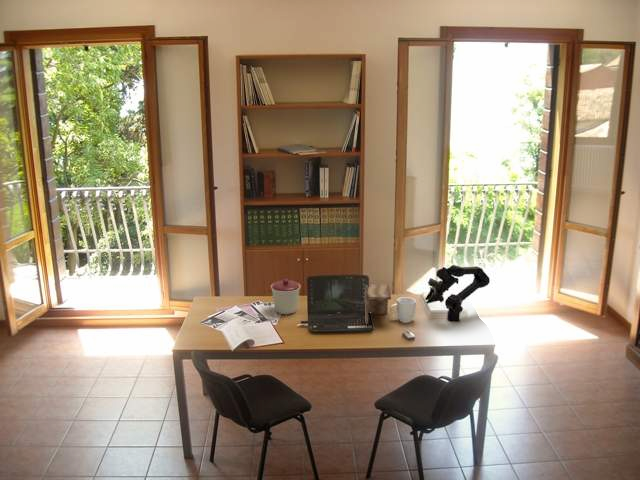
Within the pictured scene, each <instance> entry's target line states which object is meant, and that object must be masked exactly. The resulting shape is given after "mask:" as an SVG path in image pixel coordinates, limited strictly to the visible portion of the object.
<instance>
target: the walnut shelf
mask: <svg viewBox="0 0 640 480" xmlns="http://www.w3.org/2000/svg"><path fill="white" fill-rule="evenodd" d="M367 284H368V283H367ZM368 285H369V287H368ZM368 285H365V284H364V302H365V316H364V324H365V323H366V324H368V325H369V314H368V313H369V306H370V312H371V314H372V315H374V314H375V315H388V305H389V304H388V303H389V300H392V296H391V290H390V286H389V284H377V283H375V284H373V283H372V284H368Z"/></svg>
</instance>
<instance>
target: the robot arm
mask: <svg viewBox="0 0 640 480" xmlns="http://www.w3.org/2000/svg"><path fill="white" fill-rule="evenodd" d="M465 275H473V280H472V282H471V283H470V284H468V285H467V286H466V287H464V288H463V289H462V290H461V291H460V292H458V293H457V294H454V293H451V294H450V295H449V296H448V297H447V298H446V299H445V297H444V293H445V292H446V291H447V292H448V291H449V290H450V288H451V287H453V285H455V284H456V285H459V278H461V277H463V276H465ZM436 276H437V278H439V279H440V280H439V281H437V280H435V279H434V278H431V277H430V278H429V279H428V281H427V284H428V286H429V292H428V293H427V295H426V297H425V298H424V300H425V303H426V304H431V303H434V302H435V303H436V302H440V303H443V302H444V300H445V302H444V303H445V304H444V305H445V307H446V309H448V310H447V311H446V313H447V314H446V316H447V317H446V319H447V320H448V321H449V322H455V323H456V322H461V320H460V316H461V315H460V314H461V312H463V310H464V308H463V306H462V304H463V301H465V300H466V299H467V298H468V297H469V296H471V295H472V294H473V293H475V292H476V291H477V290H478V289H482V288H484V287H485V288H486V287H487V286H488V285H489V284H490V283H491V282H490V281H491V279H490V277H489V276H488V274H486V272H485V271H484V269H483V268H482V267H480V266H476V265H475V266H459V265H456V264H452V265H451V266H450V267H445V266H443V267H441V268H439V269H438V270H437V271H436Z"/></svg>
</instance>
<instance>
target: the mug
mask: <svg viewBox="0 0 640 480" xmlns="http://www.w3.org/2000/svg"><path fill="white" fill-rule="evenodd" d="M416 304H417V300H416V299H415V298H413V297H409V296H401V297H399V298H397V299H396V303H393V304H392V305H391V306H390V308H389V314H390V315H391V316H392V317H393V318H398V320H399V321H400V322H401V323H404V324H408V323H411V322H412V321H413V320H414V317H415V315H416V307H417V305H416ZM393 307H396V314H397V315H396V314H393V312H392V311H393V310H392V309H393Z"/></svg>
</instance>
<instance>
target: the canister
mask: <svg viewBox="0 0 640 480" xmlns="http://www.w3.org/2000/svg"><path fill="white" fill-rule="evenodd" d="M270 289H271V291H272V299H273V304H274V310H275V311H276V312H277V313H278V314H281V315H291V314H293V313H294V314H295V312H296V311H297V310H298V304H299V297H300V289H301V284H300V283H298V282H297V281H294V280H290V279H288V278H284V279H283V280H278V281H276V282H274V283H272V284H271V286H270Z"/></svg>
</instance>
